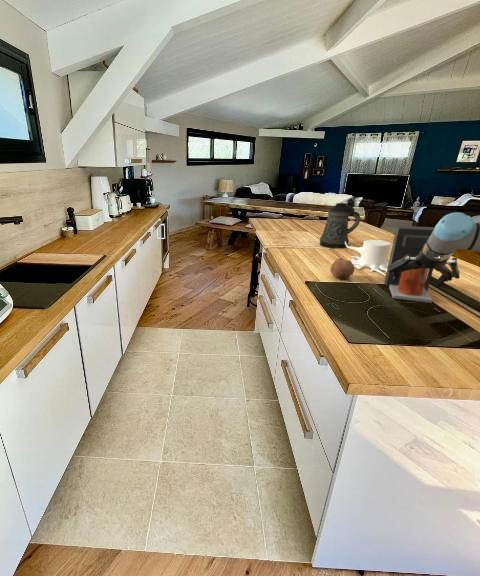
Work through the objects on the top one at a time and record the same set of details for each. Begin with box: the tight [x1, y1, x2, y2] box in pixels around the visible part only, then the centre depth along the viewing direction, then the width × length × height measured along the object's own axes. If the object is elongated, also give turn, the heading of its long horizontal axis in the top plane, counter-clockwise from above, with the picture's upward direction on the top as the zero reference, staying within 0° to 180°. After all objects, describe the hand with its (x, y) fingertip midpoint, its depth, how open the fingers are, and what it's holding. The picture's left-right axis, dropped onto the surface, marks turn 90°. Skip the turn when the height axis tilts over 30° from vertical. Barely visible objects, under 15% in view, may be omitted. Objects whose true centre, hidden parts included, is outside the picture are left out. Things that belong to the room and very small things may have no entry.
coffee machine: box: [384, 225, 435, 304], centre depth 118 cm, size 14×18×24 cm
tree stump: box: [345, 239, 392, 277], centre depth 153 cm, size 28×28×11 cm
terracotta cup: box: [397, 265, 429, 296], centre depth 118 cm, size 8×8×11 cm
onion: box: [329, 257, 355, 281], centre depth 137 cm, size 10×9×10 cm
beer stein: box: [319, 202, 361, 249], centre depth 187 cm, size 16×19×25 cm
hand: (415, 281), depth 114 cm, fingers open, 13 cm apart
